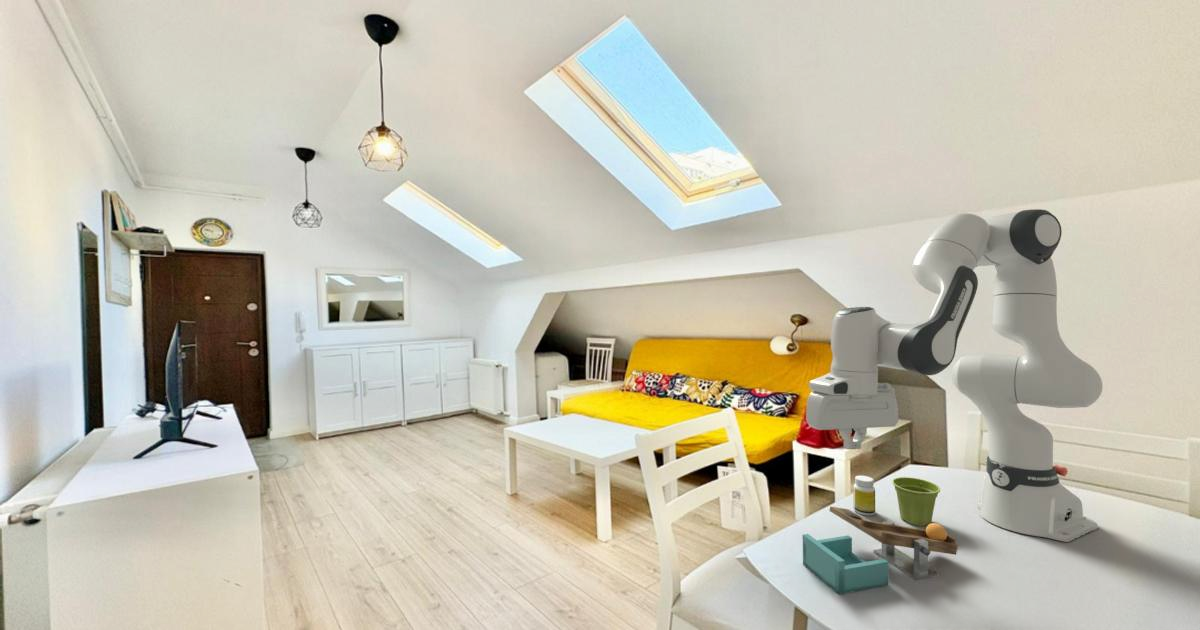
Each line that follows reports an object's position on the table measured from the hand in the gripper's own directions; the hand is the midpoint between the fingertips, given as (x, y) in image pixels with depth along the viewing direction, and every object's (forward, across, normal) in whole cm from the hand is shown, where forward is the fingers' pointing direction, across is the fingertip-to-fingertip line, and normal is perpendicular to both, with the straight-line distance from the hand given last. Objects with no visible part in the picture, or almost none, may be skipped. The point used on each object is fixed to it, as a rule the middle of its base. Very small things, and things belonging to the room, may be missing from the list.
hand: (852, 448), depth 99 cm
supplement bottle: (+21, -16, -14) cm, 30 cm away
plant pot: (+20, -24, -7) cm, 32 cm away
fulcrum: (+21, -6, +7) cm, 23 cm away
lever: (+17, -7, +3) cm, 18 cm away
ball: (+16, -14, +7) cm, 22 cm away
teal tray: (+22, +8, +7) cm, 24 cm away
